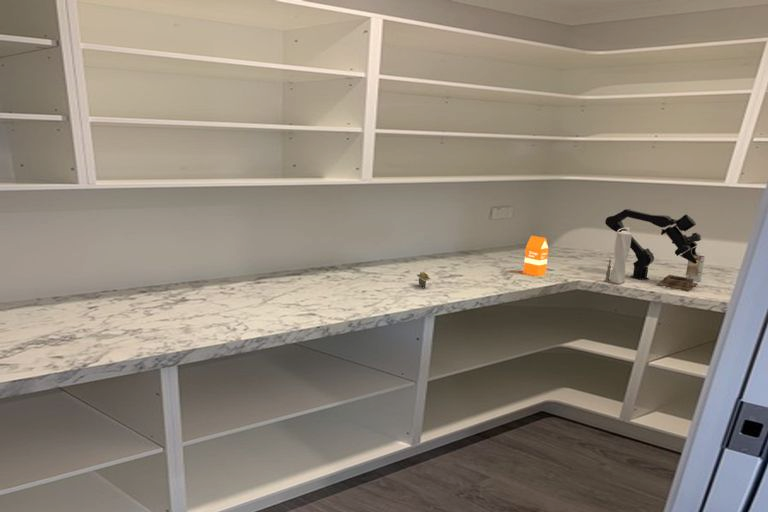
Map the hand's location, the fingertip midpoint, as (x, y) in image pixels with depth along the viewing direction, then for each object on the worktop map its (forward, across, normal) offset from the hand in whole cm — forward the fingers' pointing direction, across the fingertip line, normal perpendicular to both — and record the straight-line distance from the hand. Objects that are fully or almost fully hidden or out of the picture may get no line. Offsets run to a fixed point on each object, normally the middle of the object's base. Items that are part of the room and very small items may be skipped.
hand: (697, 262), depth 245 cm
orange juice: (-36, -38, +57) cm, 77 cm away
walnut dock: (+5, 0, +14) cm, 15 cm away
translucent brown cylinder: (+4, 0, +6) cm, 7 cm away
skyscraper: (-11, -20, +31) cm, 38 cm away
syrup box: (+7, +20, +12) cm, 24 cm away
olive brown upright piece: (-51, -105, +73) cm, 137 cm away
